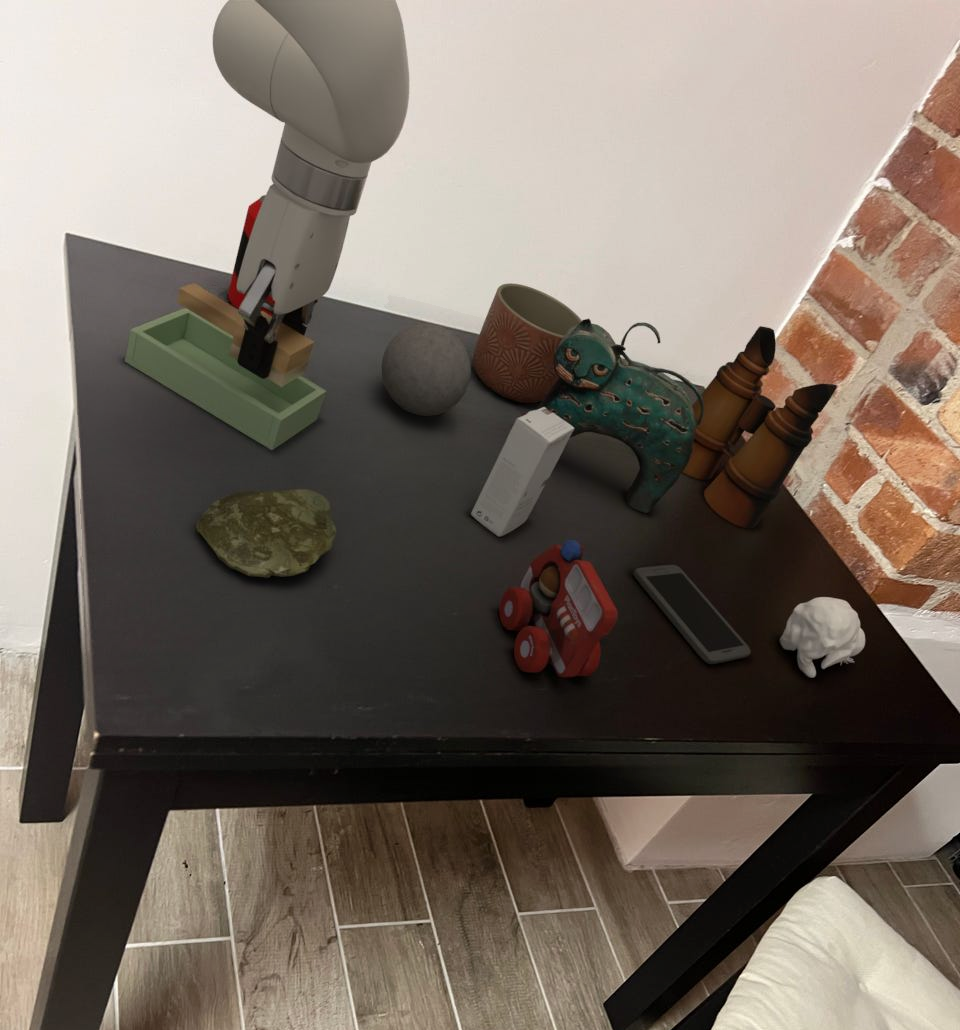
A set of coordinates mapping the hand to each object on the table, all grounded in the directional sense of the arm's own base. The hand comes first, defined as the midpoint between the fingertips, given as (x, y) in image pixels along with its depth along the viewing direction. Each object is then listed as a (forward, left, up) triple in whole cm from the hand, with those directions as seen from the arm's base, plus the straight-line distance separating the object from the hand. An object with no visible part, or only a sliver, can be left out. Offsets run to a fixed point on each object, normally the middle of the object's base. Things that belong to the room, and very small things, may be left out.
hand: (267, 361), depth 89 cm
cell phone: (+49, +9, -6) cm, 51 cm away
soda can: (-12, +19, -6) cm, 23 cm away
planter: (+16, +36, -6) cm, 40 cm away
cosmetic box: (+26, +6, -6) cm, 28 cm away
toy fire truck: (+37, -9, -6) cm, 38 cm away
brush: (-3, 0, 0) cm, 3 cm away
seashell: (+12, -17, -6) cm, 22 cm away
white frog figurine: (+64, +15, -6) cm, 67 cm away
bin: (-4, 0, -6) cm, 7 cm away
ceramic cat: (+31, +24, -6) cm, 40 cm away
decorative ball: (+10, +17, -6) cm, 21 cm away
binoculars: (+46, +42, -6) cm, 63 cm away
